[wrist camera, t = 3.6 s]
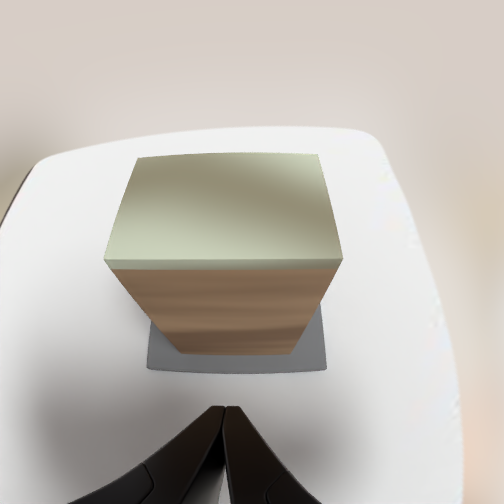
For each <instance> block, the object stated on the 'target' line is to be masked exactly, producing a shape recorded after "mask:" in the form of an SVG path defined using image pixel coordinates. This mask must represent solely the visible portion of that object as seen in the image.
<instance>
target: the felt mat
mask: <svg viewBox="0 0 504 504" xmlns="http://www.w3.org/2000/svg"><path fill="white" fill-rule="evenodd" d="M147 368H148V369H151V370H162V371H176V372H192V373H220V374H263V373H290V372H307V371H320V370H326V369H327V365H326V354H325V343H324V333H323V324H322V315H321V307H320V304H319V305H318V307H317V309H316V311H315V313H314V314H313V316H312V318H311V320H310V321H309V323H308V325H307V327H306V328H305V330H304V332H303V334H302V335H301V337H300V339H299V340H298V342H297V344H296V346H295V347H294V349H293V351H292V352H291V354H285V355H195V354H181V353H180V352H179V351H178V350H177V349H176V347H175V346H174V345H173V344H172V343H171V342H170V341H169V340H168V339H167V338H166V336H165V335H164V334H163V333H162V332H161V331H160V330H159V328H158V327H157V326H156V325H155V324H154V323H153V322H152V320H151V328H150V337H149V347H148V357H147Z"/></svg>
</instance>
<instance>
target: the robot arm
mask: <svg viewBox="0 0 504 504" xmlns="http://www.w3.org/2000/svg"><path fill="white" fill-rule="evenodd" d="M143 463H144V464H143ZM143 463H140V464H139V465H137V466H136V467H135V468H133V469H132V470H130V471H129V472H127V473H126V474H124V475H123V476H121V477H120V478H118V479H117V480H115V481H113V482H111V483H109V484H108V485H106V486H104V487H102V488H100V489H98V490H96V491H94V492H92V493H90V494H88V495H86V496H83V497H81V498H79V499H77V500H75V501H72V502H70V503H68V504H218V500H219V495H220V490H221V486H222V481H223V477H224V472H225V466H226V474H227V481H228V489H229V496H230V502H231V504H322V503H321V502H319V501H318V500H317V499H316V498H315V497H314V496H312V495H311V494H310V493H309V492H308V491H307V490H306V489H305V488H304V487H303V486H302V485H301V484H300V483H299V482H298V481H297V480H296V478H295V477H294V476H293V475H292V474H291V472H290V471H288V470H287V468H286V467H285V466H284V465H283V463H282V462H281V461H280V460H279V458H278V457H277V456H276V455H275V453H274V452H273V451H272V449H271V448H270V447H269V446H268V444H267V443H266V442H265V440H264V439H263V438H262V436H261V435H260V434H259V432H258V431H257V430H256V428H255V427H254V426H253V424H252V423H251V422H250V420H249V419H248V417H247V416H246V415H245V413H244V412H243V411H242V409H241V408H240V407H239V406H227V407H226V408H225V407H224V406H211V407H210V408H208V409H207V410H206V411H205V412H204V413H203V414H202V415H200V416H199V417H198V418H197V419H196V420H195V421H193V422H192V423H191V424H190V425H189V426H187V427H186V428H185V429H184V430H183V431H181V432H180V433H179V434H178V435H177V436H175V437H174V438H173V439H172V440H170V441H169V442H168V443H167V444H165V445H164V446H163V447H162V448H160V449H159V450H158V451H157V452H155V453H154V454H153V455H151V456H150V457H149V458H147V459H146V460H145V461H144V462H143Z"/></svg>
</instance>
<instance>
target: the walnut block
mask: <svg viewBox="0 0 504 504" xmlns="http://www.w3.org/2000/svg"><path fill="white" fill-rule="evenodd" d="M342 260H343V255H342V250H341V246H340V241H339V236H338V232H337V227H336V223H335V219H334V215H333V210H332V206H331V202H330V198H329V194H328V190H327V187H326V183H325V179H324V175H323V172H322V168H321V164H320V161H319V157H318V154H298V153H205V154H184V155H169V156H156V157H144V158H138V159H137V162H136V164H135V167H134V169H133V172H132V174H131V177H130V179H129V182H128V185H127V187H126V190H125V193H124V196H123V198H122V201H121V204H120V207H119V210H118V213H117V216H116V219H115V222H114V225H113V228H112V232H111V235H110V238H109V241H108V245H107V248H106V252H105V255H104V261H105V262H106V264H107V265H108V266H109V268H110V269H111V270H112V272H113V273H114V274H115V276H116V277H117V278H118V280H119V281H120V282H121V284H122V285H123V286H124V287H125V289H126V290H127V291H128V292H129V294H130V295H131V296H132V297H133V299H134V300H135V301H136V302H137V304H138V305H139V306H140V307H141V309H142V310H143V311H144V312H145V313H146V314H147V316H148V317H149V318H150V319H151V320H152V322H153V323H154V324H155V325H156V326H157V327H158V328H159V330H160V331H161V332H162V333H163V334H164V335H165V336H166V338H167V339H168V340H169V341H170V342H171V343H172V344H173V345H174V346H175V347H176V349H177V350H178V351H179V352H180V353H181V354H195V355H285V354H291V352H292V351H293V349H294V347H295V346H296V344H297V342H298V340H299V339H300V337H301V335H302V334H303V332H304V330H305V328H306V327H307V325H308V323H309V321H310V320H311V318H312V316H313V314H314V313H315V311H316V309H317V307H318V305H319V304H320V302H321V300H322V298H323V296H324V294H325V292H326V291H327V289H328V287H329V285H330V283H331V281H332V279H333V277H334V275H335V273H336V272H337V270H338V268H339V266H340V264H341V262H342Z"/></svg>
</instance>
